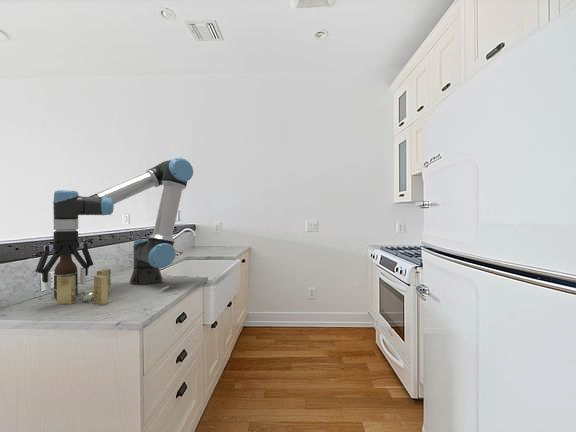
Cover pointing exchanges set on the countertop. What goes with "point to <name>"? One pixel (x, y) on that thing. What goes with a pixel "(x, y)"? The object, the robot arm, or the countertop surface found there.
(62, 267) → the beer bottle
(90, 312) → the countertop surface
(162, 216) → the robot arm
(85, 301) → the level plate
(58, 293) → the tan rectangular block
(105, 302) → the knob
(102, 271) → the knob
